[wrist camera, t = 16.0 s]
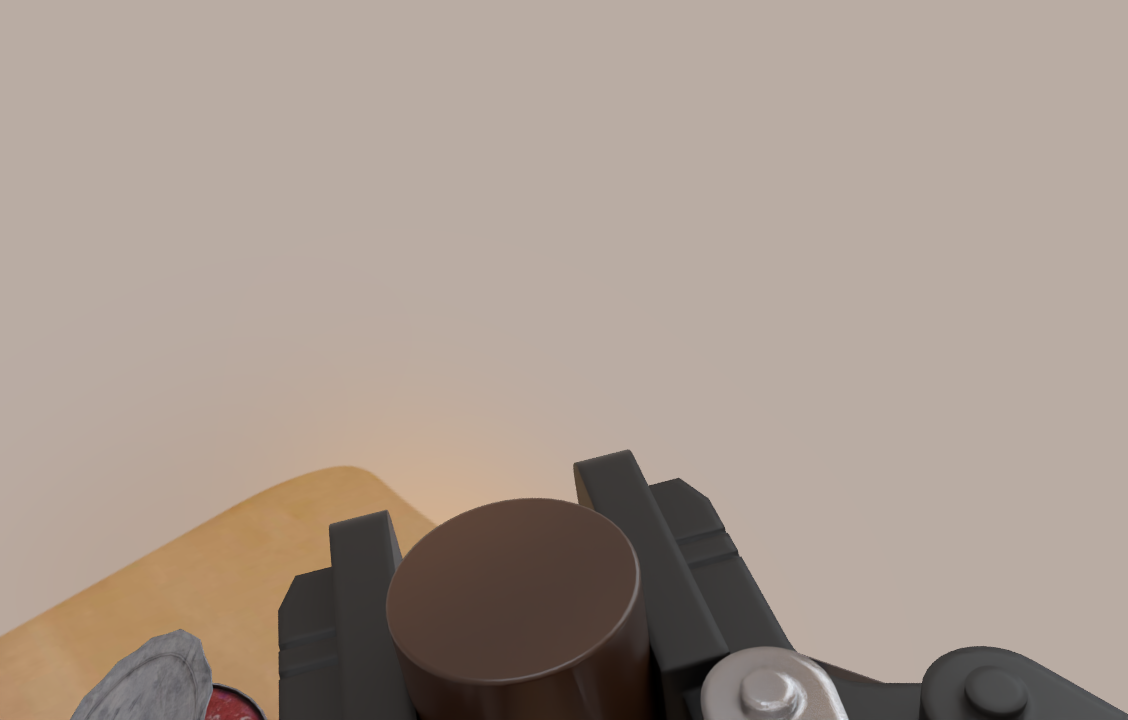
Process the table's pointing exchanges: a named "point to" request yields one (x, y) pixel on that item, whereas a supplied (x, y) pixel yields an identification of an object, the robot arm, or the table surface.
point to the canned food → (166, 687)
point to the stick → (523, 617)
